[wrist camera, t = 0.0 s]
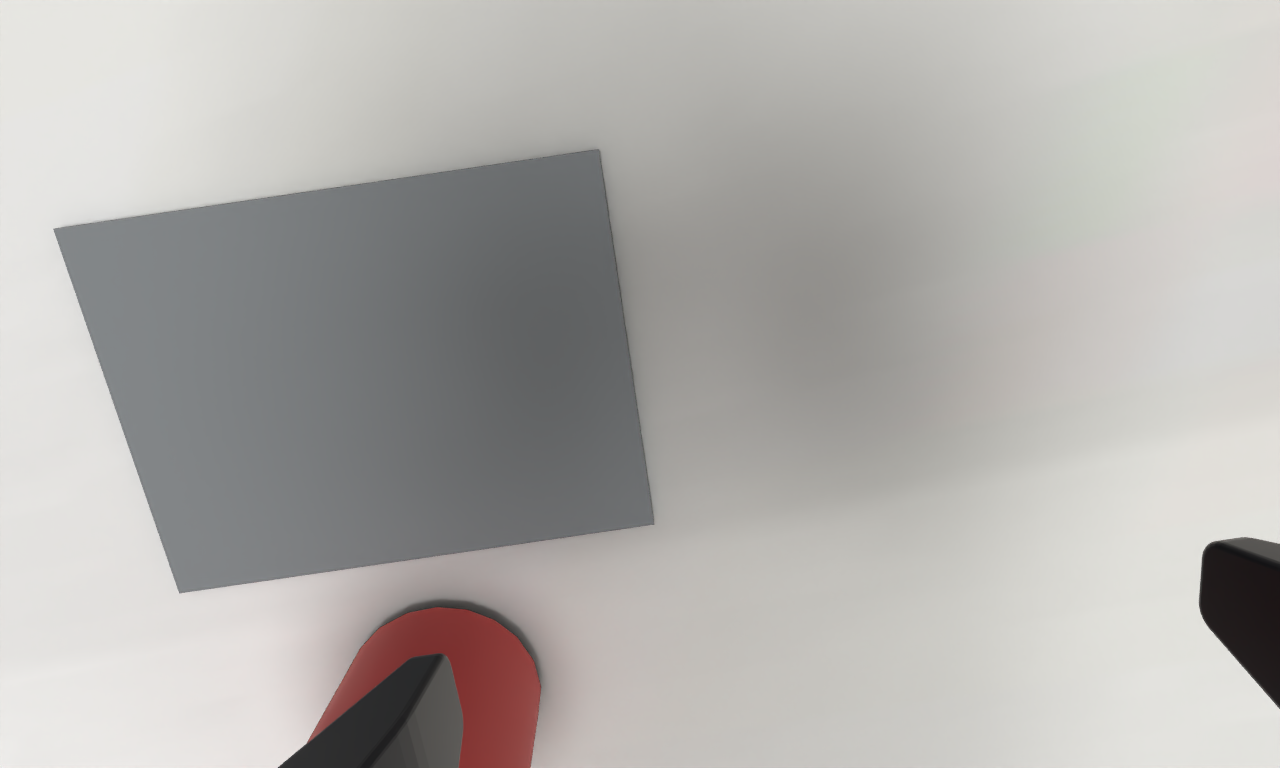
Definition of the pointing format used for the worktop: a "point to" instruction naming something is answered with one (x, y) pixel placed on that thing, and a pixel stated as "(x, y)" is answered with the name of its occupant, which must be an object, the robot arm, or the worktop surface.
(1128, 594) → the worktop surface
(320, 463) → the mat
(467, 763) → the beer can
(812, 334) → the worktop surface
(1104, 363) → the worktop surface
